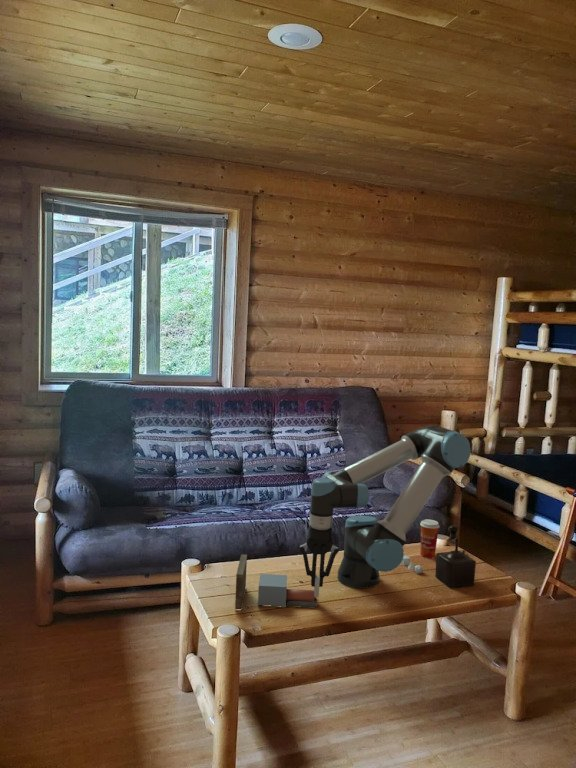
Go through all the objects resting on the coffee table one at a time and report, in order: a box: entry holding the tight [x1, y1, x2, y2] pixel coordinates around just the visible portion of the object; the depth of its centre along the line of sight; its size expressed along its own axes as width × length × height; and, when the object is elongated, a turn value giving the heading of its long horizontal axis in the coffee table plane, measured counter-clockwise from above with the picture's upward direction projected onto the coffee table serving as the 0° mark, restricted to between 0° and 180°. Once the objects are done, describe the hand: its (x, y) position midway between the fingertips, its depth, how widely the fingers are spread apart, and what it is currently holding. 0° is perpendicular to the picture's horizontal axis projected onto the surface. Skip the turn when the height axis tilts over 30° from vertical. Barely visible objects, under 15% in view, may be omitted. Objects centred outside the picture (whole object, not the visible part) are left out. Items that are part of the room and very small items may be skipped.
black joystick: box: [434, 525, 477, 589], centre depth 218 cm, size 16×11×18 cm
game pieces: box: [400, 554, 425, 575], centre depth 226 cm, size 12×3×3 cm, turn 24°
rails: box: [286, 597, 318, 609], centre depth 194 cm, size 10×7×2 cm
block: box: [257, 573, 288, 608], centre depth 194 cm, size 9×9×7 cm
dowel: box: [286, 588, 315, 603], centre depth 194 cm, size 10×4×4 cm, turn 90°
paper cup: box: [419, 519, 441, 559], centre depth 239 cm, size 8×8×14 cm
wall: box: [234, 553, 248, 610], centre depth 194 cm, size 2×16×12 cm, turn 179°
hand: (316, 595), depth 194 cm, fingers closed
